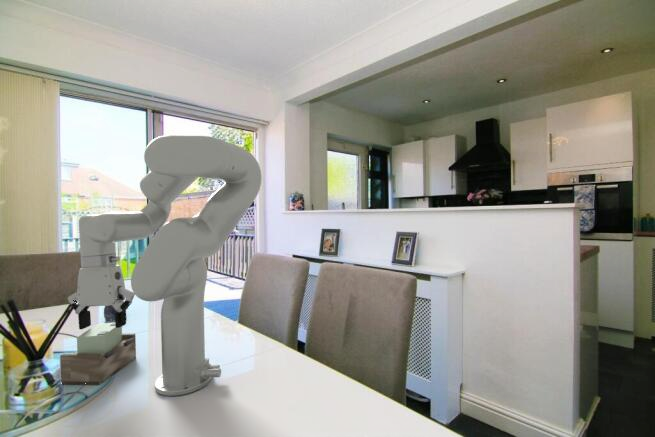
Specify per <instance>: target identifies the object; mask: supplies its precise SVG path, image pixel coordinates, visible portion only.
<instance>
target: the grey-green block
mask: <svg viewBox="0 0 655 437" xmlns="http://www.w3.org/2000/svg"><path fill="white" fill-rule="evenodd" d="M122 334H123V326H121V327H119V328H116V326H115V321H114V322H107V323H105V322H104V323H97V324H95V325H93V326H92V327H90V328H89V329H87V330H86V331H85V332H83V333H81V334H80V335H78V336H77V337H76V345H77V346H76V352H77V353H88V354H101V356H102V355H105V354H106V353H107V352H109V351H110V350H111V349H112V348H114V347H115V346H116V345H117V344H118V343H119V342H120V341H121V340H122Z"/></svg>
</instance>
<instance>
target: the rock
mask: <svg viewBox="0 0 655 437" xmlns="http://www.w3.org/2000/svg"><path fill="white" fill-rule="evenodd" d="M116 312H117V311H116V309H115V308H114V307H113V306H112V305H109V306H104V307H103V317H104V320H105V321H115V313H116Z"/></svg>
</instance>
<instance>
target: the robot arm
mask: <svg viewBox="0 0 655 437" xmlns="http://www.w3.org/2000/svg"><path fill="white" fill-rule="evenodd" d="M143 159H144V163H145V165H146V166H147V168H148V169H149V172H148V173H146V174H145V175H144V177H143V178H142V177H141V180H140V182H139V188H140V191H141V193H142V194H143V195H144V197H145V198H147V199H148V201H149V202H148V203H147V204H145V206H144V207H143V208H142V209H141V210H139V211H126V212H125V211H110V212H104V213H101V214H87V215H83V216H81V217H79V219H78V233H79V249H80V250H79V251H80V266H81V268H79V270H78V271H79V272H78V276H77V290H76V292H74V293H72V294H71V295H69V296H67V300H68V303H69V304H70V307H71V308H72V309H73V311H75V314H76V315H77V316H78V329H79V330H83V329H87V328H88V327H90V326H91V325H92V319H91V316H92V315H91V311H90V310H89V308H90V307H103V306H104V307H105V306H109V305H112V306H113V307H114V308H115V309H116V311H117V312H116V313H115V320H114V322H115V326H116V328H119V327H121V326H122V327H123V326H125V325H126V324H127V321H128V320H127V310H128V309H129V307H130V305H132V303H133V300H134V299H135V296H136V297H137V298H138V299H140V300H141V301H145V302H158V301H162V300H163V301H162V305H161V308H160V310H161V311H160V327H161V328H160V331H161V332H160V334H161V335H160V336H161V337H160V338H161V339H160V340H161V375H160V376H159V377H158V378H156V380H155V383H154V390H155V391H156V393H158V394H160V395H162V396H168V397H170V396H171V397H174V396H175V397H176V396H183V395H188V394H190V393H193V392H196V391H199V390H200V389H203V387H205V386H207V384H208V383H210V382H211V380H212V378H221V374H222V370H221V366H220V364H211V363H210V358H209V357H208V358H206V350H205V349H206V348H205V346H206V345H205V343H206V342H205V293H206V292H205V291H206V284H207V277H208V266H207V264H206V261H205V260H204V259H206V258H209V257H212V256H214V255H216V254H218V252H219V251H220V250H221V249H222V247H223V246H224V245H225V243H226V241H228V239H229V237H230V236H231V234H232V233H233V232H234V230H235V229H236V228H237V226H238V224H239V223H240V221H241V220H242V218H243V217H244V215H245V214H246V212H247V211H248V210H249V208H250V207H251V206H252V204H253V203H254V202H255V200H256V198H257V197H258V194H259V193H260V190H261V186H262V170H261V167H260V164H259V162H258V160H257V159H256V157H255V156H254V155H253V153H251V152H250V151H248V150H247V149H245V148H244V147H241V146H238V145H237V144H234V143H230V142H227V141H226V140H222V139H220V138H217V137H215V136H214V137H213V136H208V135H161V136H158V137H155V138H154V139H152V140H151V141H149V143H148V144H147V146H146V148H145V150H144V154H143ZM198 178H203V179H210V180H216V181H223V182H224V183H223V185H221V186H220V187H219V188H218V189H216V191H215V192H212V194H211V195H210V196H209V198H208V199H207V200H206V202H205V204H204V205H203V207H202V208H201V209H200V211H199V212H198V213H197V214H196V215H194V216H192V217H191V216H190V217H177V218H174V219H171V220H169V221H168V219H169V217H170V214H171V211H172V203H173V202H175V200H177V199H178V197H179V196H180V195H182V194H183V193H184V191H186V190H187V189H188V188H189V187H190V186H191V185H192V184H194V182H195V181H196V180H197V179H198ZM155 232H156V233H155ZM153 234H154V235H153ZM152 235H153V237H152V239H151V240H150V242H149V243H148V245H147V246H146V248H145V249H144V250H143V253H142V254H141V256H140V257H139V259H138V260H137V262H136V263H135V265H134V267H133V270H132V272H131V278H130V286H131V287H130V288H131V290H129V289H127V288H126V286H125V285H126V284H125V279H124V274H123V270H122V268H121V265H120V264H117V262H120V260H121V257H120V256H117V253H116V252H117V248H116V243H121V242H125V241H126V242H127V241H138V240H144V239H147V238H149V237H151V236H152ZM73 300H74V301H75V300H76V301H77V303H76V302H74V301H73ZM75 303H76V304H75ZM72 306H74V307H72Z"/></svg>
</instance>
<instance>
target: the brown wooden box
mask: <svg viewBox="0 0 655 437" xmlns="http://www.w3.org/2000/svg"><path fill="white" fill-rule="evenodd" d="M136 344H137V343H136V333H122V340H121V341H120V342H119V343H118V344H117V345H116V346H115V347H114V348H112V349H111V350H110V351H109V352H107V353H106V354H105V355H102V356H101V354H88V353H77V351H75V352H73V353H65V352H64V353H62V354H60V356H59V362H60V363H59V364H60V365H59V366H60V383H61V382H62V385H63V386H99V385H101V384H103V383H104V382H106V381H107V380H108V379H110V378H111V377H112V376H114V375H115V374H117V373H118V372H119V371H121V370H122V369H123V368H125V367H126V366H128V365H129V364H131V363H132V362H133V361H135V360H136V359H137V352H136V350H137V345H136ZM110 376H111V377H110ZM109 377H110V378H109ZM85 383H86V384H85ZM62 385H61V386H62Z"/></svg>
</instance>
